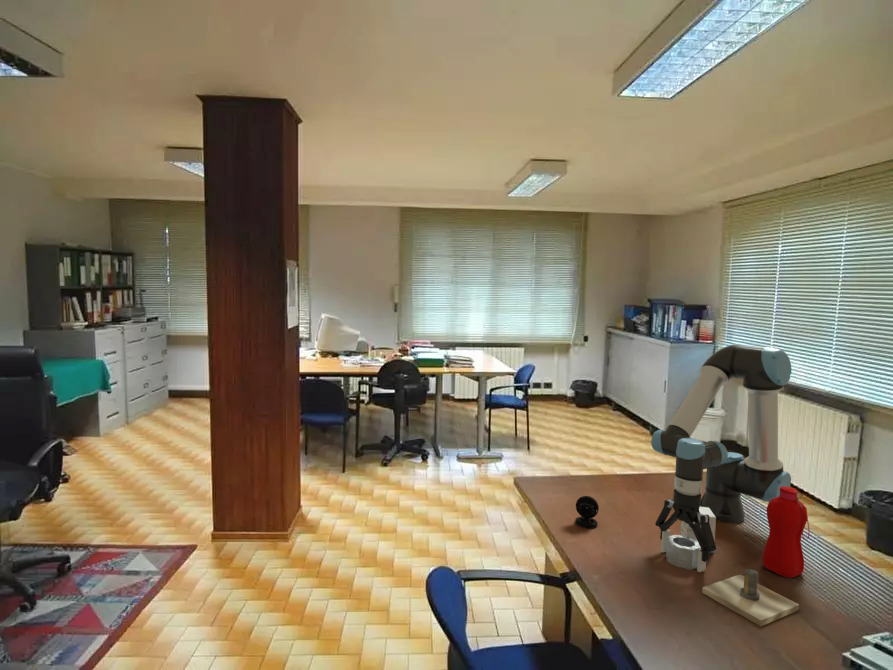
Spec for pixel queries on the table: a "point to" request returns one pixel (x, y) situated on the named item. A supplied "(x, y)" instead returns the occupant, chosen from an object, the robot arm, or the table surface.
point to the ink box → (688, 531)
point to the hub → (682, 551)
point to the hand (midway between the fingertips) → (682, 560)
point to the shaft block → (750, 598)
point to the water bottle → (785, 534)
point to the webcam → (587, 512)
